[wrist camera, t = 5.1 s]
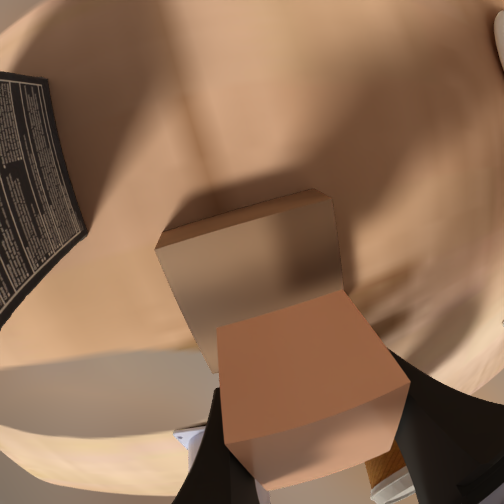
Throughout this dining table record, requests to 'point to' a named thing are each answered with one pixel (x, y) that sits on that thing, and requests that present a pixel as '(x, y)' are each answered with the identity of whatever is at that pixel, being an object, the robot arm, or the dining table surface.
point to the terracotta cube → (307, 391)
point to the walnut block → (251, 263)
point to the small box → (31, 191)
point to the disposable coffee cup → (389, 477)
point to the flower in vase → (499, 35)
